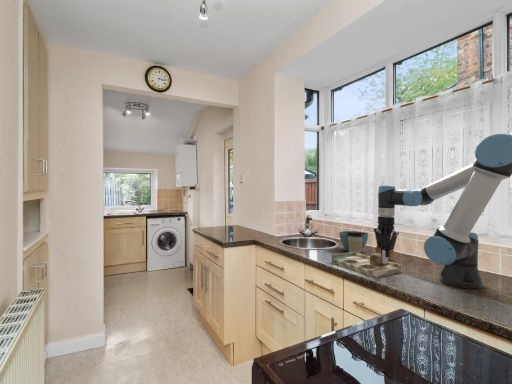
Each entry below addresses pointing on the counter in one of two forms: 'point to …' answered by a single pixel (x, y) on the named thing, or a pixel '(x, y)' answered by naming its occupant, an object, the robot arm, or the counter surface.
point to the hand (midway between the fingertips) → (385, 263)
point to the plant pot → (345, 239)
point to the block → (376, 260)
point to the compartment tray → (364, 264)
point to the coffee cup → (355, 241)
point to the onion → (390, 252)
